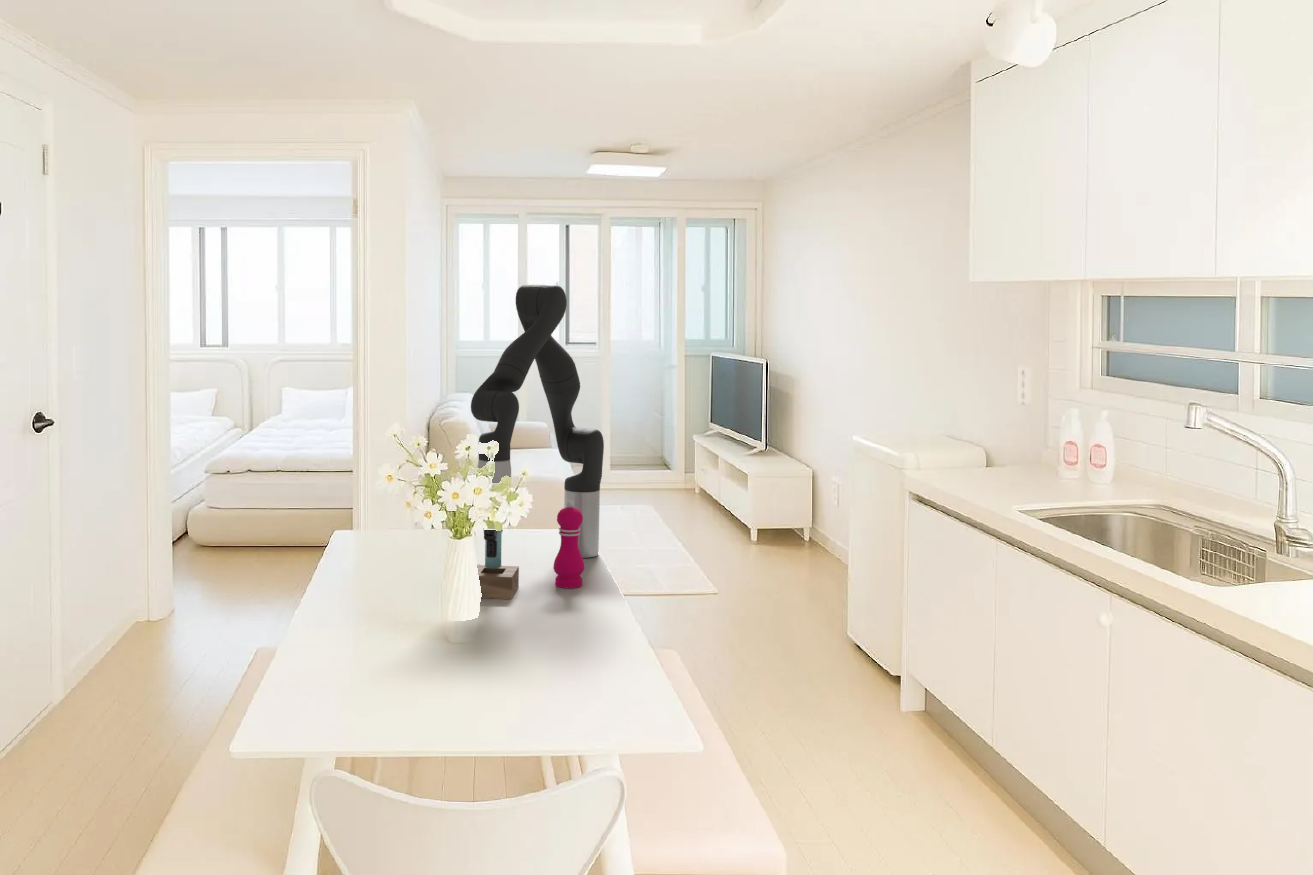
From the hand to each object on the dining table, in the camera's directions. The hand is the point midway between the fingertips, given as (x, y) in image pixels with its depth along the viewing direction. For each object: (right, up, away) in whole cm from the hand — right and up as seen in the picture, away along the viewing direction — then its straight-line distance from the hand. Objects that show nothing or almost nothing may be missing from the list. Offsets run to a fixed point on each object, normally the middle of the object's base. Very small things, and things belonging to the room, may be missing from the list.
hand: (493, 554), depth 246 cm
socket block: (0, -9, +1) cm, 9 cm away
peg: (0, -3, 0) cm, 3 cm away
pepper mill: (+16, -8, +9) cm, 20 cm away
